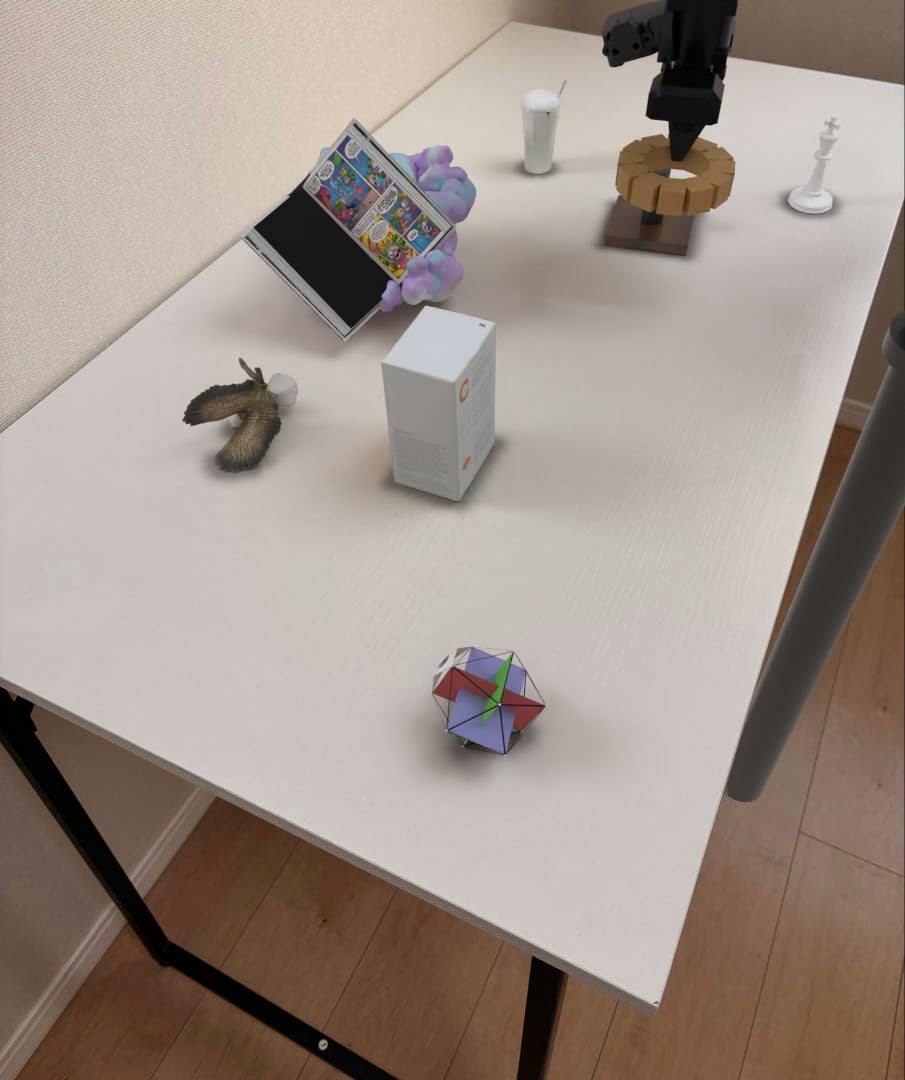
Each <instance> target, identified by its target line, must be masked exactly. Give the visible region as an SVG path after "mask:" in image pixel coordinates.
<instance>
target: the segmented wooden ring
mask: <svg viewBox="0 0 905 1080" xmlns="http://www.w3.org/2000/svg"><path fill="white" fill-rule="evenodd" d="M718 146H719V144H718V143H715V142H713V141H710V140H707V139H705V138H702V137H699V136H698V138H697V139H696V141H695V143H694V144H693V146H692V147H691V149H690V150H689V152H688V153H687V155H686V156H685V158H684V160H683V161H682V162H677V161H672V160H671V154H670V140H669V133H668V134H667V137H666V136H665V135H664V134H663V133H659V134H654V135H649V136H643V137H641V138H640V139H634V140H633V141H632V142H630V143H628V144H626V145H625V146H624V147H622V150H620V151H619V154H618V155H619V156H618V161H617V164H616V165H617V166H616V173H615V174H616V176H615V181H614V182H615V183H614V186H615V189H616V192H618V193H619V195H621V196H622V197H623V198H624V199H625V201H629V200H631V201H630V204H632V205H634V206H636V207H639V208H641V209H643V210H646V211H648V212H651V211H653V210H654V209H656V208H657V211H656V214H664V215H674V216H681V215H682V210H683V212H684V213H685V214H686V215H687V216H690V215H695V216H696V215H700V214H704V213H709V212H711V210H716V209H718V208H719V207H721V205H722V204H725V202H727V201H728V199H729V198H730V197H731V193H732V189H733V188H732V187H733V183H734V179H735V174H736V160H734V156H732V155H731V153H730V152H729V151H728V150H726V149H725V148H724V147H723V146H719V147H718ZM662 169H671V170H677V171H683V172H686V173H689V174H692V175H695V176H691V177H686V178H675V177H670V178H666V177H663V176H661V175H658V174H656V173H653V172H651V171H656V170H662Z"/></svg>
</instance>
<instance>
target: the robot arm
mask: <svg viewBox="0 0 905 1080" xmlns="http://www.w3.org/2000/svg"><path fill="white" fill-rule="evenodd" d="M738 5H739V0H656V1H655V0H653V1H649V2H645V3H642V4H639V5H635V6H632V7H629V8H625V9H622V10H618V11H616V12H613V13H611V14H610V15H608V16H607V17H606V19H605V21H604V23H603V25H602V28H601V31H600V34H601V37H602V41H603V47H602V49H601V53H602V55H603V56H604V57H606V58H607V63H608V66H609V68H619V67H622V66H624V65H625V63H629V62H632V61H636V60H639V59H643V58H647V57H651V56H653V55H655V54H657V56H656V63H660V64H661V67H660V72H659V73H658V74H657V75H655V76H654V77H653V78H652V81H651V85H650V88H649V91H648V94H647V95H648V96H647V102H646V109H645V117H646V118H648V119H650V120H651V121H662V122H667V127H668V134H669V140H670V154H671V160H672V161H677V162H682V161H683V160H684V158H685V156H686V155H687V153H688V152H689V150H690V149H691V147H692V146H693V144H694V143H695V141H696V139H697V138H698V137H699V136H701V133H702V132H703V130H704V129H705V128H706V126H709V127H711V126H714V125H717V124H719V119H720V113H721V108H722V103H723V98H724V92H725V86H726V85H725V83H724V82H723V81H724V80H725V78H726V74H727V68H728V65H727V61H728V56H729V54H731V52H732V46H733V42H734V37H735V30H736V25H737V21H736V16H737V11H738Z"/></svg>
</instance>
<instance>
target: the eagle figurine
mask: <svg viewBox="0 0 905 1080" xmlns="http://www.w3.org/2000/svg"><path fill="white" fill-rule="evenodd" d="M238 364H239V366H240V368H241V369H242V370H244V371H245V373H246V375H248V377H249V378H251V379H249V378H247V379H245V380H244V381H243V382H241V383H230V384H223V385H219V384H214V385H213V386H212V385H211V386H209V388H208V389H207V388H206V389H204V391H201V392H200V393H199V394H198V395H196V396H195V397H194V398H192V399H191V400H190V401H189V402H190V403H188V405H187V406H186V410H184V412H183V415H184V416H183V417H182V422H183V423H184V424H185V425H189V426H190V427H194V426H198V425H202V424H206V423H213V422H219V421H221V420H222V421H223V420H225V419H228V418H229V417H231V416H233V417H232V418H231V419H230V421H229V423H230V429H233V428H235V429H236V428H237V430H236V431H235V432H234V433H233V435H232V436H231V438H230V439H229V440H228V442H227V443H226V444H224V446H223V447H221V449H219V451H218V452H217V453H216V454H215V455H214V459H215V460H216V463H215V464H216V465H218V468H219V470H220V471H224V472H225V473H228V472H239V471H240V469H241V470H242V471H245V470H247V469H248V468H249V469H250V468H253V467H254V466H256V465H257V464H258V463H259V462H261V461H262V460H263V458H264V457H265V456H266V452H268V450H269V449H270V445H271V443H273V440H275V437H276V436H278V434H280V431H281V428H282V427H281V426H282V419H281V417H279V413H278V412H277V411H279V410H280V407H286V408H289V407H290V408H291V407H293V406H294V405H295V403H296V401H297V396H298V393H299V389H298V383H297V381H296V380H295V379H294V378H293V377H292V376H290V375H288V374H286V373H282V372H277V373H274V374H273V375H272V376H271V377H270V379H269V381H268V383H267V382H266V381H265V378H264V376H263V371H262V368H261V367H259V366H257V367H254V370H253V369H252V368H251V367H250V366H248V364H247V363H246V361H245V360H244V359H243V358H242V357H238Z"/></svg>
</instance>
